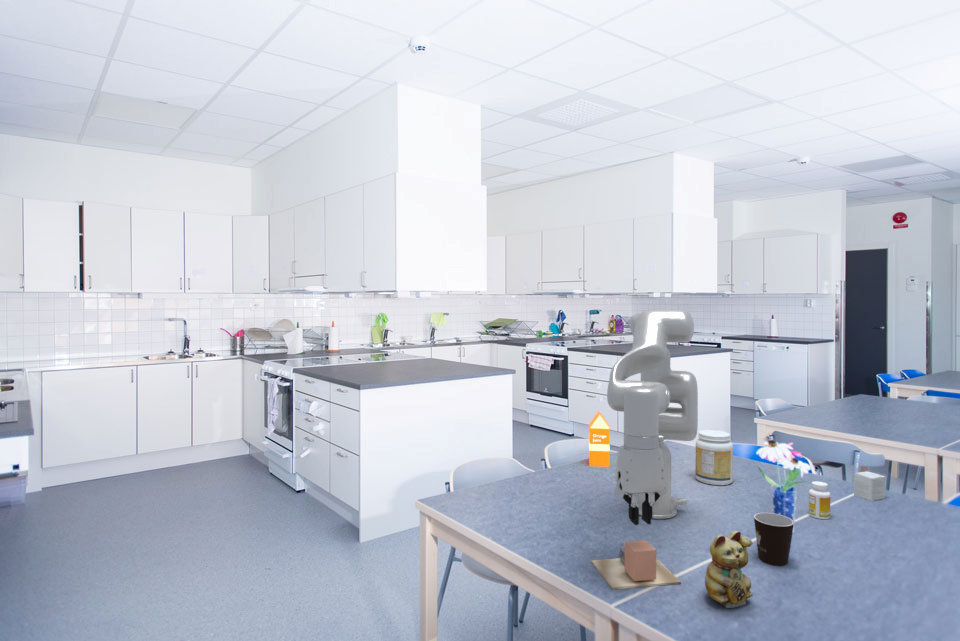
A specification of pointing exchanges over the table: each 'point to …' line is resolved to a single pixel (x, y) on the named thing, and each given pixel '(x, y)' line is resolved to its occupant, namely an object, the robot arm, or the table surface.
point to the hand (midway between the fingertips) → (640, 521)
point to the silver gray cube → (622, 555)
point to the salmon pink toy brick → (640, 560)
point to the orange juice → (599, 441)
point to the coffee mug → (773, 538)
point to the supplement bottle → (819, 500)
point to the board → (620, 579)
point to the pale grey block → (869, 485)
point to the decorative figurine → (728, 570)
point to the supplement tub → (714, 457)
